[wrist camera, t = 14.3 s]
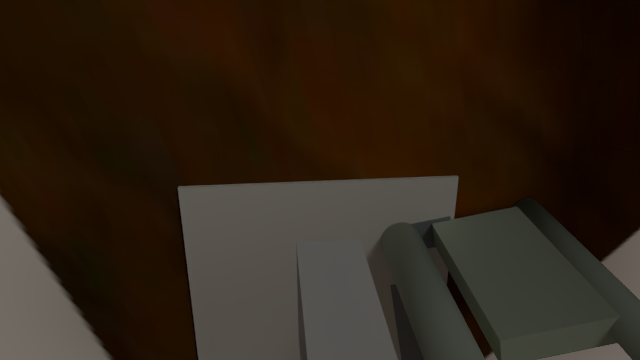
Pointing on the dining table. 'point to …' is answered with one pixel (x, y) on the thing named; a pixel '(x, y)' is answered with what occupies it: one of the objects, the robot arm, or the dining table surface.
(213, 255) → the card
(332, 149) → the dining table surface
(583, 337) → the fence post and fixed panel
